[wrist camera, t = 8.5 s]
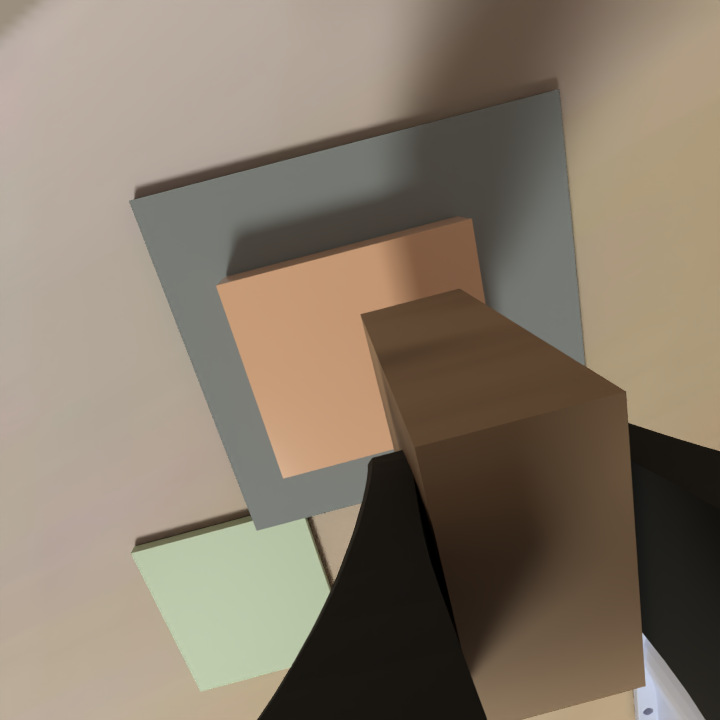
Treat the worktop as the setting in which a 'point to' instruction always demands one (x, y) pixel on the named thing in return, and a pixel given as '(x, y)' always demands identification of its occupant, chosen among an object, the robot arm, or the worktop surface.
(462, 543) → the walnut block
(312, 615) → the rest pad
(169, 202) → the mat
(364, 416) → the tile
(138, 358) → the worktop surface
